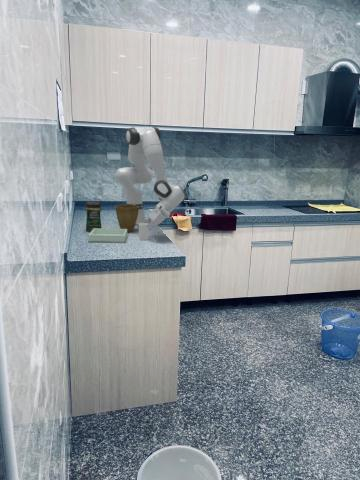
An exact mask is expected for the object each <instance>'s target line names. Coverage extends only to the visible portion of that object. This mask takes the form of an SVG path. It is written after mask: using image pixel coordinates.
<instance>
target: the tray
mask: <svg viewBox="0 0 360 480" xmlns="http://www.w3.org/2000/svg"><path fill="white" fill-rule="evenodd" d="M89 232H90V233H88V234H87V238H88V241H87V242H88V243H113V244H115V243H117V244H123V243H124V244H125V243H126V240H127V237H128V232H127V229H121V228H101V229H99V228H94V229H93V230H92V231H89Z"/></svg>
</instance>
